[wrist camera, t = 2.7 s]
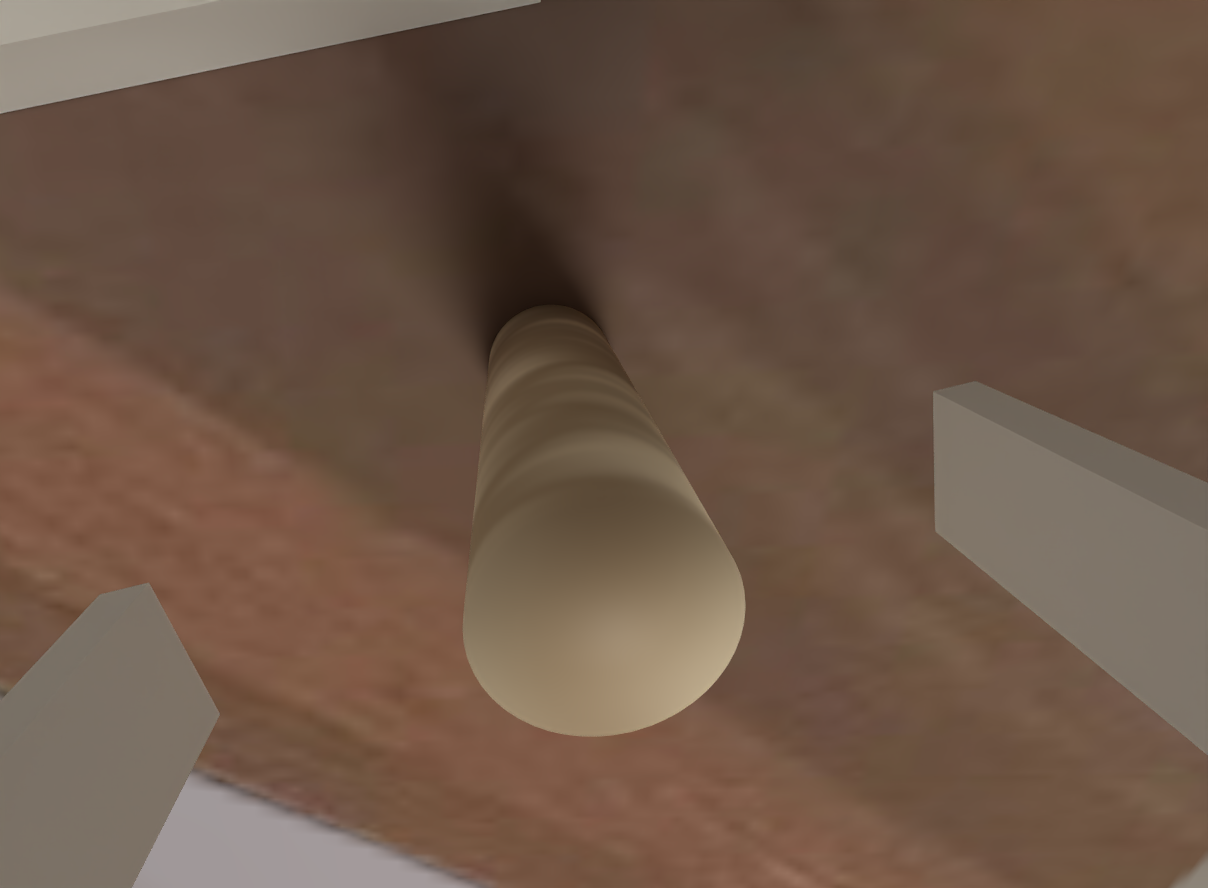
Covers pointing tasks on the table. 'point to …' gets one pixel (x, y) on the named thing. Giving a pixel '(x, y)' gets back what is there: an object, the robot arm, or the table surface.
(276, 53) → the open box
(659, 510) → the peg
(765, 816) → the table surface
